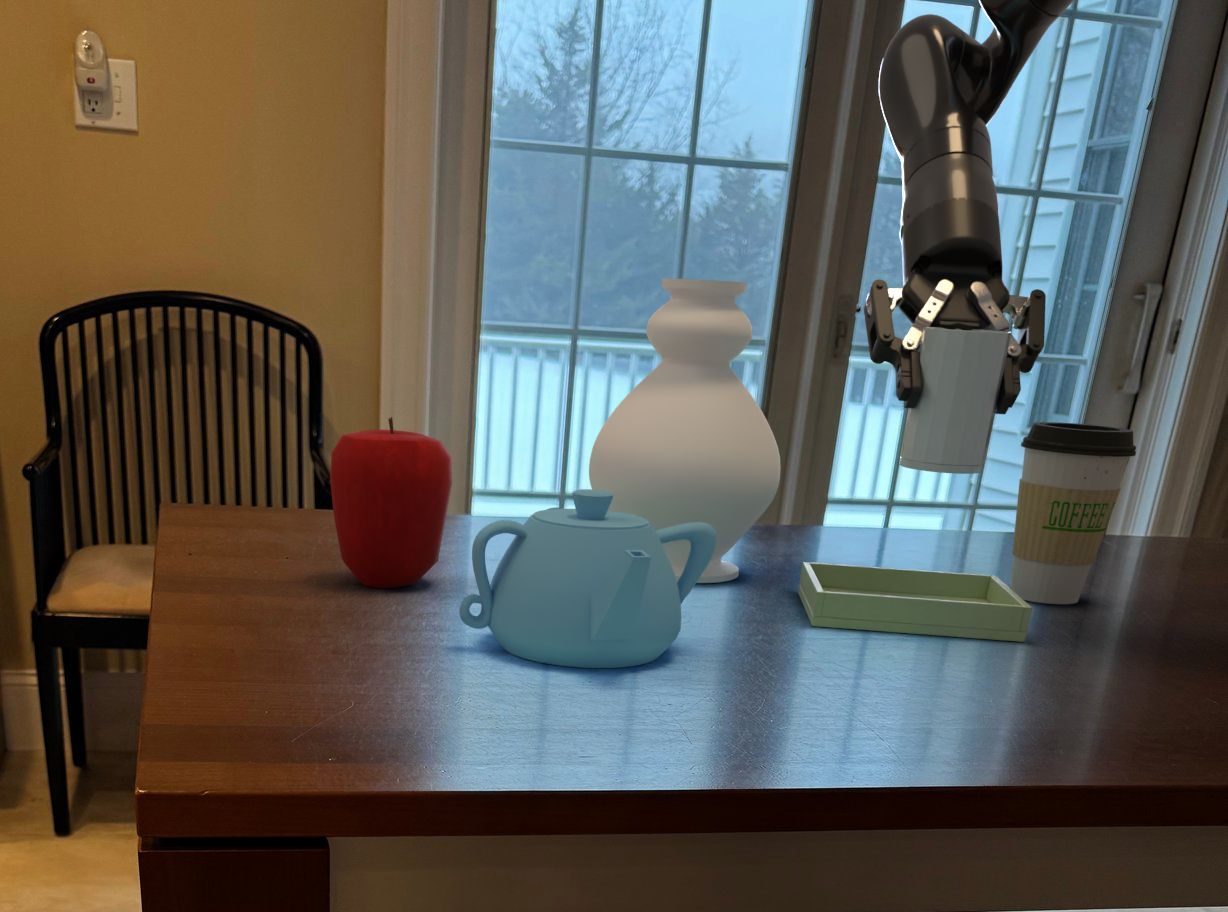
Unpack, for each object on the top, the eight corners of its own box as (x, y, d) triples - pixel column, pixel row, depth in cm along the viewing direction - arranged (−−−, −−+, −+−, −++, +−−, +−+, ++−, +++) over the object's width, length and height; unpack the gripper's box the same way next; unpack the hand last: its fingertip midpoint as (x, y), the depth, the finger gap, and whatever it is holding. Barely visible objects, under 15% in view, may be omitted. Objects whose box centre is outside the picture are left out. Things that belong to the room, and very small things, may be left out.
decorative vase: (796, 589, 130) (841, 287, 118) (614, 588, 125) (643, 276, 114) (723, 554, 145) (757, 284, 133) (559, 553, 141) (579, 274, 129)
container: (973, 466, 114) (1000, 330, 109) (989, 476, 108) (1019, 333, 104) (893, 460, 115) (917, 325, 110) (905, 470, 109) (931, 328, 104)
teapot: (718, 641, 109) (737, 489, 103) (633, 688, 95) (650, 516, 90) (541, 613, 115) (550, 468, 110) (437, 653, 101) (442, 490, 96)
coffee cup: (1088, 613, 126) (1131, 435, 119) (978, 597, 131) (1014, 424, 124) (1107, 597, 134) (1149, 429, 127) (1003, 582, 138) (1038, 419, 131)
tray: (989, 607, 127) (996, 575, 125) (1024, 642, 114) (1032, 607, 113) (797, 593, 128) (802, 561, 127) (811, 626, 116) (817, 591, 114)
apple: (459, 595, 120) (467, 424, 114) (341, 595, 117) (342, 421, 111) (433, 571, 129) (438, 412, 123) (322, 570, 126) (322, 408, 120)
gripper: (874, 188, 109) (880, 363, 104) (1058, 199, 109) (1072, 374, 104) (848, 265, 116) (852, 432, 111) (1020, 276, 116) (1032, 442, 111)
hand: (959, 403), depth 108 cm, fingers closed on container, 6 cm apart
